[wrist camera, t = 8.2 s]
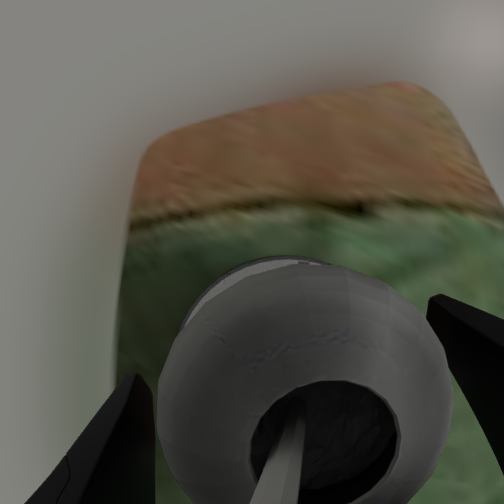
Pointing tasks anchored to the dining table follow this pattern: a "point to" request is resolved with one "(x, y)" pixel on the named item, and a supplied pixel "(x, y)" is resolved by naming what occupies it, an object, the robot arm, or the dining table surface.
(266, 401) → the beverage cup
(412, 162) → the dining table surface
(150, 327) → the dining table surface
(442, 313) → the robot arm
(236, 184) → the dining table surface
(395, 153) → the dining table surface
